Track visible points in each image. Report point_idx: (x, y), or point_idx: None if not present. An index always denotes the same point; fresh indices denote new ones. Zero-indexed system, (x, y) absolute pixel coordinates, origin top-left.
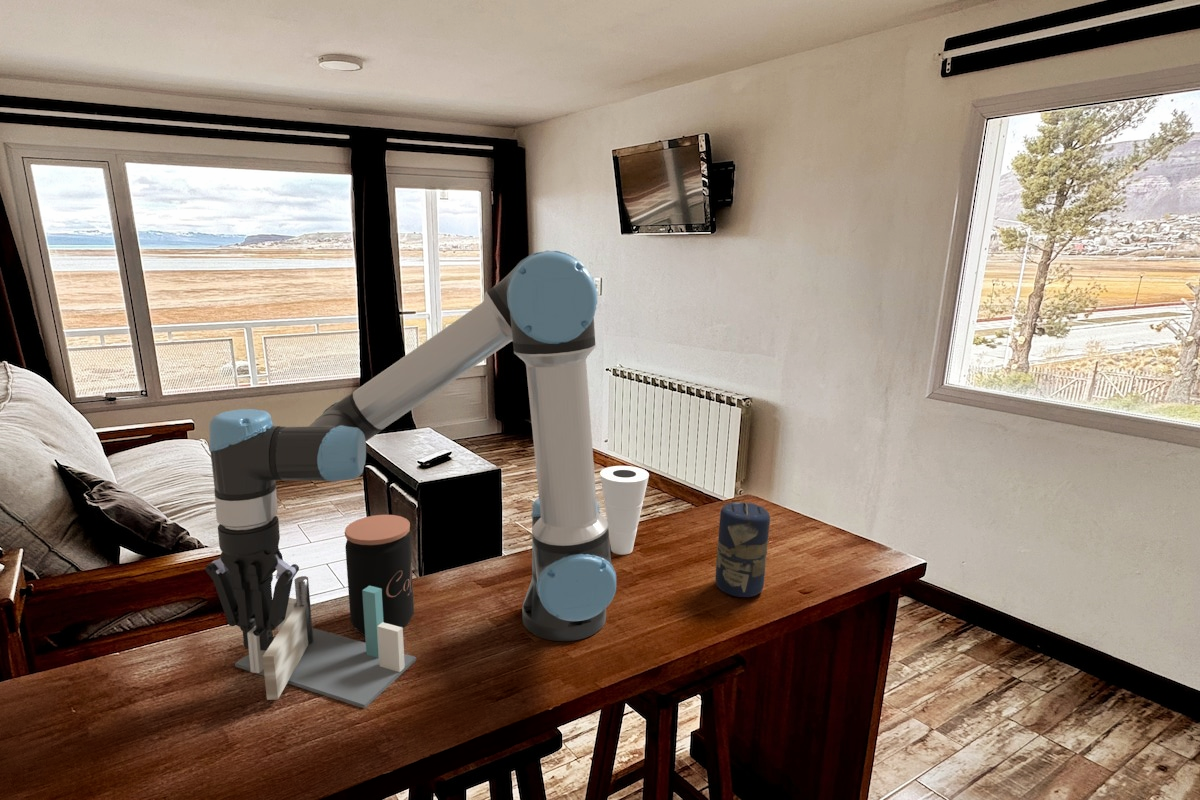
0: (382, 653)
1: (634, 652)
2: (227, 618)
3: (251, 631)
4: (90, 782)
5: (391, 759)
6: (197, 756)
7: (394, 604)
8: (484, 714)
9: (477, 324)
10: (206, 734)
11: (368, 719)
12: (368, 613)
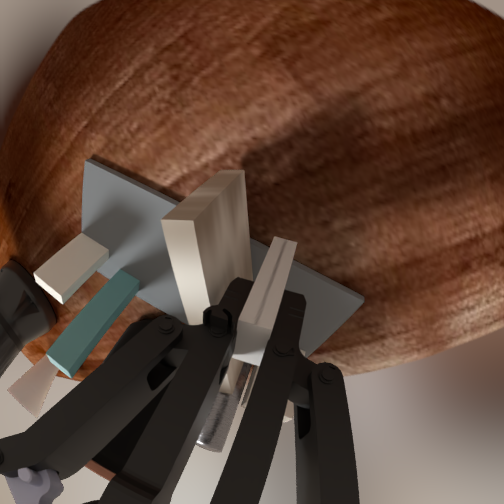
0: (88, 260)
1: None
2: (342, 393)
3: (261, 333)
4: (484, 19)
5: (42, 74)
6: (328, 25)
7: (111, 352)
8: (9, 160)
9: None
10: (345, 87)
11: (78, 135)
12: (84, 330)
